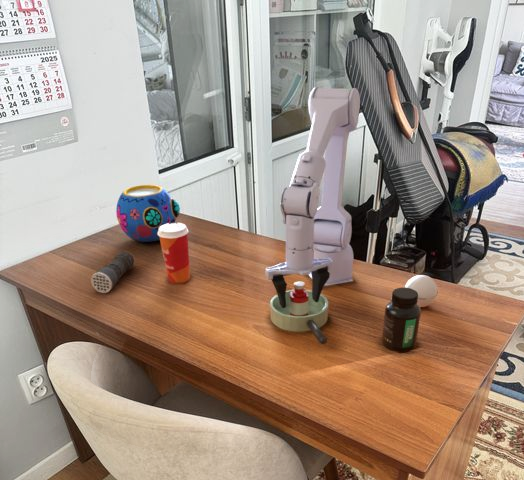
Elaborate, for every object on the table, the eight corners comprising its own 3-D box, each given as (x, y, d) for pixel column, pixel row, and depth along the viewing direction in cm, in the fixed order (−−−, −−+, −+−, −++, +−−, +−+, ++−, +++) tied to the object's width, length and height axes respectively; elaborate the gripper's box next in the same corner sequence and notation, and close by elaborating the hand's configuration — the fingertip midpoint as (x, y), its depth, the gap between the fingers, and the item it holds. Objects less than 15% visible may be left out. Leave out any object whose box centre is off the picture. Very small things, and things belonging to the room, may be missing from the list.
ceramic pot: (152, 254, 150) (144, 203, 141) (109, 243, 158) (99, 194, 149) (191, 234, 161) (185, 186, 153) (149, 225, 170) (142, 178, 161)
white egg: (395, 305, 120) (399, 276, 116) (414, 294, 124) (418, 266, 120) (433, 321, 114) (438, 291, 110) (451, 309, 118) (457, 280, 114)
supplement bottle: (414, 356, 103) (423, 303, 96) (379, 351, 104) (385, 299, 98) (416, 338, 108) (424, 286, 101) (382, 334, 110) (388, 283, 103)
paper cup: (165, 273, 139) (158, 222, 131) (194, 271, 139) (188, 220, 131) (163, 286, 132) (155, 234, 124) (193, 284, 133) (187, 232, 125)
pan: (315, 300, 123) (315, 285, 121) (336, 327, 113) (337, 311, 111) (263, 310, 120) (263, 294, 118) (281, 337, 110) (280, 321, 108)
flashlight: (119, 266, 143) (115, 248, 140) (137, 267, 142) (134, 249, 139) (93, 292, 131) (88, 272, 128) (113, 293, 130) (108, 273, 127)
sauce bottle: (304, 310, 118) (305, 278, 114) (311, 319, 115) (311, 286, 110) (287, 313, 118) (287, 281, 113) (293, 322, 114) (293, 289, 110)
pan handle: (305, 325, 110) (305, 319, 110) (312, 324, 111) (312, 317, 110) (320, 346, 104) (320, 339, 103) (328, 345, 104) (328, 338, 103)
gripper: (271, 257, 102) (273, 317, 110) (339, 247, 105) (336, 305, 113) (261, 244, 108) (263, 302, 115) (326, 235, 111) (324, 291, 118)
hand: (299, 302), depth 114 cm, fingers open, 7 cm apart
